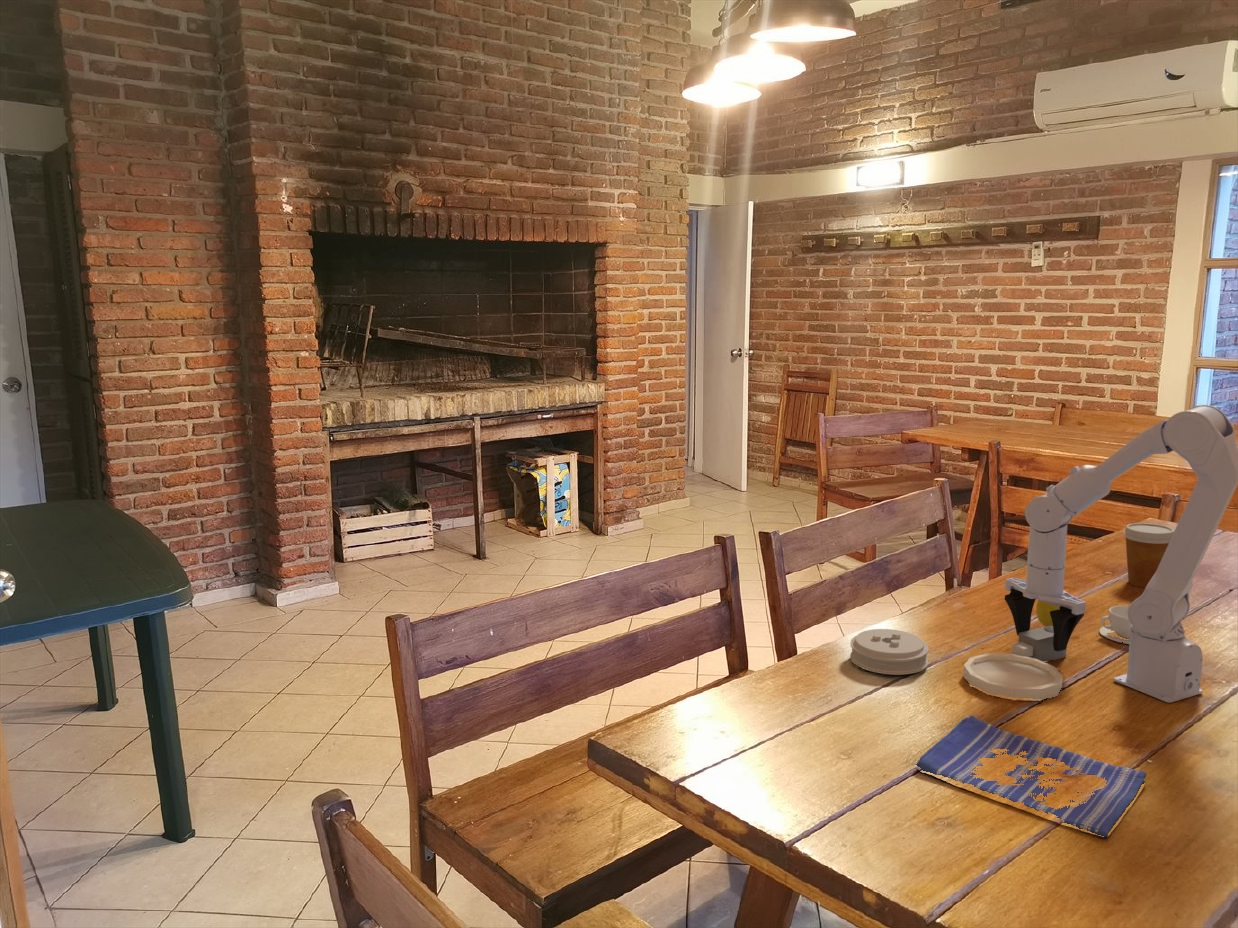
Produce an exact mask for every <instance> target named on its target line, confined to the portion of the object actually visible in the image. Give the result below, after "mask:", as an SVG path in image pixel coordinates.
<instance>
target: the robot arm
mask: <svg viewBox="0 0 1238 928" xmlns="http://www.w3.org/2000/svg"><path fill="white" fill-rule="evenodd" d="M1173 451H1174V452H1175V454H1178V455H1179V456H1180V457H1181V458H1183V459H1184V460H1185V461H1186V462H1187V463H1188V464H1189V466H1190V467H1191V469H1192V471H1193V472H1194V474H1195V476H1196V477H1197V481H1196V483H1195V486H1194V487H1193V490H1192V492H1191V494H1190V496H1189V498H1188V500H1187V503H1186V505H1185V507H1184V510H1183V511H1182V513H1181V516H1180V519H1179V520H1178V522H1177V524H1176V527H1175V529H1174V533H1173V535H1172V538H1171V540H1170V542H1169V544H1168V546H1167V549H1166V551H1165V553H1164V555H1163V557H1162V560H1161V562H1160V564H1159V566H1158V568H1157V571H1156V572H1155V574H1154V575H1153V577H1152V578H1151V580H1150V581H1149V583H1148V584H1147V586H1146V588H1144V590H1143V592H1142V594H1141V595H1139V597H1137V598H1135V599H1134V600H1133V601H1132V602H1131V603H1130V604H1129V605H1128V606H1129V608H1128V619H1129V622H1130V624H1131V629H1130V642H1129V644H1128V657H1127V670H1126V673H1125V674H1121V675H1119V676H1115V677H1113V681H1114V682H1116V683H1119V684H1120V685H1123V686H1126V687H1128V688H1130V689H1133V690H1136V691H1139V693H1140V692H1141V693H1143V694H1146V695H1148V696H1150V697H1153V698H1155V699H1158V700H1160V701H1163V702H1166V703H1169V704H1170V703H1174V702H1177V701H1180V700H1184V699H1187V698H1190V697H1194V696H1196V695H1197V696H1198V695H1200V694H1203V689H1202V688H1201V678H1202V667H1203V651H1202V648H1201V647H1200V646H1199V645H1198V644H1197V643H1195V642H1192V641H1191V640H1189V639H1188V638H1187V637H1186V635H1185V632H1186V631H1185V629H1184V627H1183V624H1182V623H1181V622H1182V621H1181V620H1183V619H1184V618H1185V617H1187V615H1189V614H1188V613H1189V612H1190V608H1191V604H1190V593H1191V591H1192V588H1193V585H1194V584H1193V582H1194V581H1193V580H1194V578H1195V576H1196V574H1197V571H1198V570H1199V567H1200V565H1201V563H1202V562H1203V561H1202V560H1203V559H1204V557H1205V555H1206V553H1207V550H1208V549H1209V546H1210V544H1211V542H1212V540H1213V538H1214V536H1215V533H1217V532H1216V531H1217V529H1218V527H1219V525H1220V524H1221V521H1222V519H1223V517H1224V514H1225V512H1226V510H1227V509H1228V506H1229V504H1230V502H1231V500H1232V498H1233V496H1234V493H1235V492H1236V489H1237V487H1238V445H1237V441H1236V428H1235V426H1234V425H1233V423H1232V422H1231V420H1230V419H1229V418H1228V417H1227V416H1226V414H1225V413H1224V412H1223V411H1222V410H1221V409H1220V408H1218V407H1216V406H1213V405H1209V404H1199V405H1195V406H1193V407H1190V408H1189V409H1187V410H1183V411H1179V412H1177V413H1174V414H1172V416H1171V417H1169V418H1168V419H1166V420H1162V421H1161V422H1159V423H1156V424H1155V425H1153V426H1151V427H1149V428H1147V429H1146V430H1143V431H1142V432H1141V433H1139V434H1138V435H1136V437H1134V438H1133V439H1131V440H1130V441H1129V442H1127V443H1126V444H1125V445H1124V446H1123V447H1121V448H1120V449H1118V450H1117V451H1115V452H1114V453H1113V454H1112V455H1110V456H1109V457H1107V458H1106V459H1104V460H1103V461H1102V462H1101V463H1100V464H1099V465H1091V464H1084V465H1082V466H1079V465H1076V466H1073V468H1071V469H1069V471H1068V473H1069V475H1068V476H1066V477H1065V478H1064V479H1062V480H1061V481H1060V482H1058V483H1057V484H1055V485H1054V484H1051V485H1049V486H1047V487H1046V488H1045V490H1046V493H1045V494H1043V495H1039V496H1035V497H1033V498H1032V499H1031V501H1030V502H1029V503H1028V504H1027V505H1026V507H1025V511H1024V515H1025V520H1026V522H1027V523H1028V525H1029V535H1028V544H1027V560H1026V561H1027V563H1026V578H1025V580H1024V579H1020V578H1017V577H1010V578H1006V579H1005V585H1004V586H1005V589H1004V590H1005V591H1008V592H1009V593H1008V594H1005V595H1004V601H1005V602H1006V604H1007V605H1008V606H1007V607H1008V608H1009V610H1010V613H1011V614H1012V615H1011V616H1012V618H1013V623H1014V628H1015V632H1016V636H1018V637H1019V633H1020V632H1024V631H1029V630H1031V619H1032V612H1033V609H1034V605H1035V602H1036V600H1037V601H1038V600H1040V601H1043V602H1046V603H1049V604H1052V605H1054V606H1057V607H1060V610H1054V611H1050V616H1051V619H1052V623H1053V631H1054V636H1053V647H1054V650H1055V651H1062V650H1066V647H1067V648H1068V644H1069V642H1070V639H1071V636H1072V634H1073V632H1074V631H1075V628H1076V627H1077V625H1078V624H1079V622H1080V621H1081V620H1082V618H1084V616H1085V614H1086V606H1087V602H1086V601H1084V600H1082V599H1080V598H1078V597H1076V596H1074V595H1072V594H1070V592H1067V591H1066V590H1064V585H1065V572H1066V559H1067V558H1066V555H1067V542H1068V540H1067V538H1068V524H1070V522H1071V521H1072V520H1073V519H1074V516H1078V515H1079V514H1081V513H1082V512H1085V511H1086V510H1087V509H1088V508H1090V507H1091V506H1093V505H1094V504H1095V503H1097V502H1098V501H1100V500H1102V499H1103V498H1104V497H1107V495H1109V494H1110V492H1111V487H1112V482H1113V481H1115V480H1116V479H1117V478H1119V477H1121V475H1123V474H1125V473H1127V472H1128V471H1130V470H1131V469H1133V468H1134V467H1136V466H1138V465H1140V464H1141V463H1142V462H1143V461H1146V460H1147V459H1149V458H1150V457H1152V456H1153V455H1165V454H1169V453H1171V452H1173Z"/></svg>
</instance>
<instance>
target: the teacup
mask: <svg viewBox="0 0 1238 928" xmlns="http://www.w3.org/2000/svg"><path fill="white" fill-rule="evenodd" d="M1129 606H1130V605H1115V606H1111V607H1110V608H1109V609H1108V615H1104V616H1102V617H1101V620H1100V621H1101V625H1102V627H1100V628H1099V630H1098V632H1099V634H1100V635H1101V636H1103V637H1104V638H1105V639H1107V640H1108V639H1109V640H1111V641H1115V642H1117V643H1122V642H1123V643H1122V644H1126V645H1129V642H1130V629H1131V624H1130V622H1129V619H1128V608H1129ZM1106 620H1109V625H1107V624H1105V622H1106ZM1111 630H1114V631H1111ZM1107 633H1116V634H1117V635H1118V636H1120V637H1122V638H1125V639H1129V640H1124V639H1120V638H1118V637H1115V636H1114V637H1112V636H1111V635H1108V634H1107Z"/></svg>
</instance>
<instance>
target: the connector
mask: <svg viewBox="0 0 1238 928" xmlns="http://www.w3.org/2000/svg"><path fill="white" fill-rule="evenodd" d="M1053 636H1054V631H1053V626H1042V627H1037V628H1034V629H1030V630H1029V631H1024V632H1020V633H1019V636H1018V640H1017V642H1016V643H1012V645H1011V646H1012V647H1011V654H1015V655H1021V656H1026V657H1031V658H1035V659H1038V660H1040V661H1043V662H1044V661H1049V660H1054V661H1057V660H1056V659H1058V660H1061V659H1060V658H1062V659H1064V658H1063V657H1065V656H1066V657H1067V654H1068V652H1067V651H1068V646H1067V647H1066V650H1062V651H1055V650H1054V647H1053ZM1066 657H1065V658H1066Z"/></svg>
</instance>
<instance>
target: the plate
mask: <svg viewBox="0 0 1238 928" xmlns="http://www.w3.org/2000/svg"><path fill="white" fill-rule="evenodd" d="M963 676H964V677H966V679H967V680H968V682H969V684H970V685H972V686H975V687H978V688H980V689H981V690H983V691H985V692H987V693H989V694H990V693H991V694H994V695H1003V696H1007V697H1013V698H1033V699H1046V698H1050V699H1052V698H1051V697H1054V698H1056V697H1055V696H1057V697H1058V696H1059V694H1060V693H1059V692H1061V691H1062V689H1063V680H1064V679H1063V678H1064V675H1063V674H1062V673H1061V672H1060V671H1059V670H1058V669H1057V668H1056V667H1055V665H1052V664H1050V663H1048V662H1046V663H1045V662H1043V661H1040V660H1038V659H1035V658H1031V657H1026V656H1021V655H1015V654H1012V653H1002V652H999V653H997V652H996V653H995V652H994V653H993V652H991V653H983V654H978V655H975V656H971V657H969V658H968V660H967V661H966V662H965V663H964V664H963ZM964 677H963V678H964ZM969 684H968V685H969ZM1061 688H1062V689H1061ZM1060 690H1061V691H1060Z"/></svg>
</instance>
